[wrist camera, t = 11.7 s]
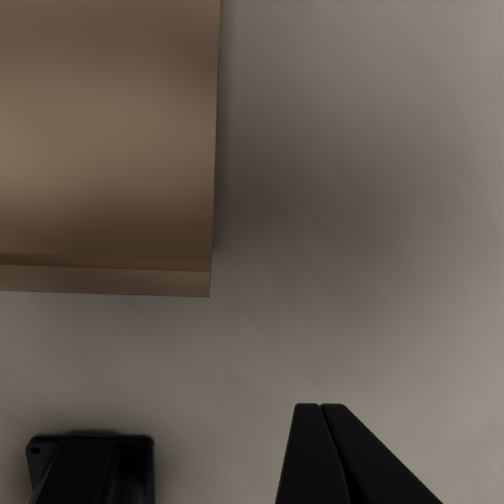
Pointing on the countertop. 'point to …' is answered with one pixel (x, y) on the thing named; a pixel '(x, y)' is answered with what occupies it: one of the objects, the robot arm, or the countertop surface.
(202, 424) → the countertop surface
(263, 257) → the countertop surface
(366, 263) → the countertop surface
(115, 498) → the robot arm
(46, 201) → the deck
